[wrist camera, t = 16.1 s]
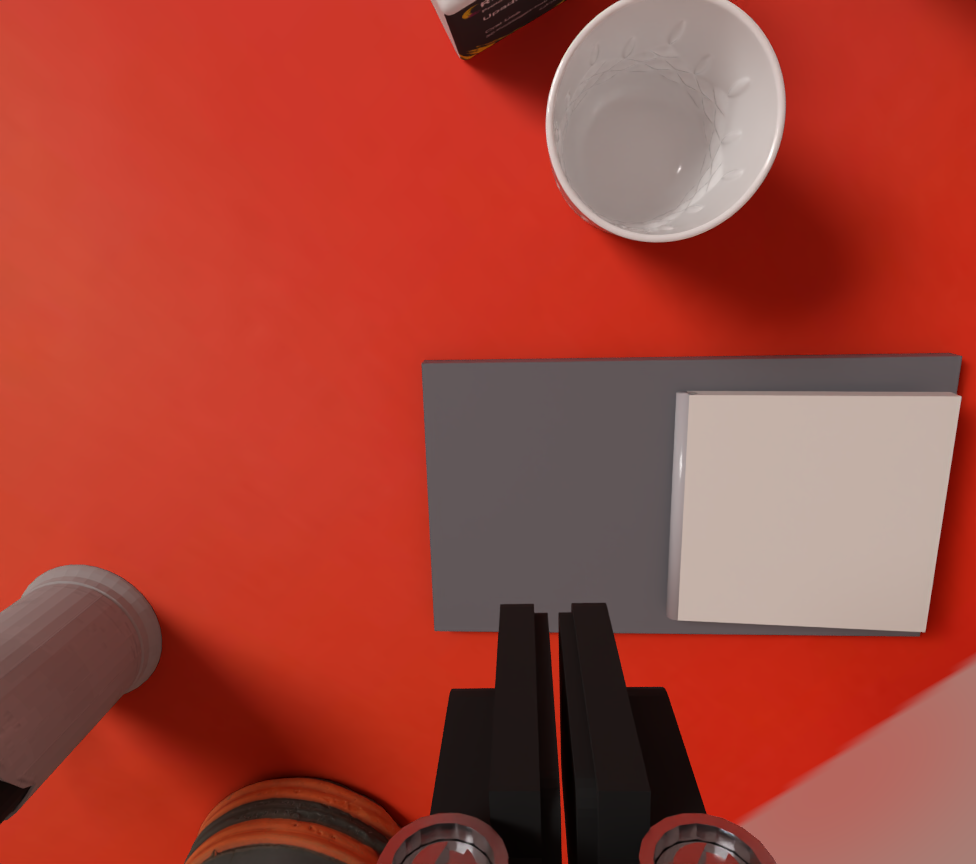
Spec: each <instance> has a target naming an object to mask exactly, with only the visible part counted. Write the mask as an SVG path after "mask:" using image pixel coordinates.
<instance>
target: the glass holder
mask: <svg viewBox="0 0 976 864" xmlns="http://www.w3.org/2000/svg"><path fill="white" fill-rule="evenodd" d="M161 651H162V635H161V629H160V625H159V622H158V620H157V617H156V615H155V613H154V611H153V609H152V607H151V605H150V604H149V603H148V601H147V600H146V599H145V598H144V596H143V595H142V594H141V593H140V592H139V591H138V590H137V589H136V588H135V587H134V586H133V585H131V584H130V583H129V582H127V581H126V580H124V579H123V578H121V577H120V576H118V575H116V574H114V573H112V572H110V571H107V570H104V569H101V568H98V567H93V566H88V565H66V566H60V567H57V568H54V569H51V570H49V571H47V572H45V573H43V574H42V575H40V576H38V577H37V578H36V579H35V580H34V581H33V582H32V583H31V584H30V585H29V586H28V587H27V589H26V590H25V592H24V593H23V595H22V597H21V599H19V600H18V601H16V602H15V603H13V604H12V605H11V606H9V607H8V608H6V609H5V610H3V611H2V612H0V824H1V823H2V822H3V821H4V820H8V819H9V818H10V817H11V816H13V815H14V814H15V813H16V812H17V811H18V810H19V809H20V808H21V807H22V806H23V804H24V803H25V802H26V801H27V800H28V799H29V798H30V797H31V796H32V795H33V793H34V792H35V791H36V790H37V789H38V788H39V787H40V786H41V785H42V784H43V782H44V781H45V780H46V779H47V778H48V777H49V776H50V775H51V774H52V773H53V771H54V770H55V769H56V768H57V767H58V766H59V765H60V764H61V763H62V762H63V760H64V759H65V758H66V757H67V756H68V755H69V754H70V753H71V752H72V751H73V749H74V748H75V747H76V746H77V745H78V744H79V743H80V742H81V741H82V740H83V738H84V737H85V736H86V735H87V734H88V733H89V732H90V731H91V730H92V729H93V727H94V726H95V725H96V724H97V723H98V722H99V721H100V720H101V719H102V717H103V716H104V715H105V714H106V713H107V712H108V711H109V710H110V709H111V708H112V706H113V705H114V704H115V703H116V702H117V701H118V700H119V699H120V698H121V697H122V695H123V694H126V693H128V692H130V691H132V690H134V689H136V688H138V687H139V686H140V685H141V684H143V683H144V682H145V681H146V680H147V679H148V678H149V677H150V676H151V674H152V673H153V672H154V670H155V668H156V666H157V664H158V662H159V659H160V655H161Z"/></svg>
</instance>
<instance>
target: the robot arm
mask: <svg viewBox="0 0 976 864" xmlns="http://www.w3.org/2000/svg"><path fill="white" fill-rule="evenodd" d="M558 626H559V677H560V729H561V769H562V786H563V799H564V812H565V826H566V839H567V853H568V864H776V862H775V860H774V859H773V857H772V856H771V855H770V853H769V852H768V851H767V849H766V848H765V847H764V846H763V844H762V843H761V842H760V841H759V840H758V839H757V838H755V837H754V836H753V835H751V834H750V833H749V832H748V831H746V830H745V829H743V828H742V827H740V826H738V825H736V824H734V823H732V822H730V821H728V820H726V819H723V818H720V817H716V816H711V815H707V814H706V811H705V808H704V805H703V801H702V798H701V795H700V792H699V789H698V786H697V783H696V780H695V777H694V774H693V771H692V768H691V765H690V762H689V758H688V755H687V752H686V749H685V746H684V743H683V740H682V737H681V734H680V731H679V728H678V725H677V722H676V718H675V715H674V712H673V709H672V706H671V703H670V700H669V697H668V694H667V692H666V690H665V688H663V687H626V684H625V680H624V676H623V672H622V667H621V663H620V659H619V655H618V650H617V646H616V642H615V638H614V633H613V629H612V625H611V621H610V617H609V612H608V608H607V604H606V603H571V612H559V613H558ZM377 864H562V852H561V806H560V783H559V766H558V752H557V738H556V724H555V709H554V695H553V681H552V666H551V652H550V638H549V623H548V613H534V604H500V617H499V633H498V649H497V666H496V682H495V688H480V689H451V691H450V695H449V701H448V707H447V713H446V719H445V726H444V732H443V738H442V744H441V750H440V756H439V762H438V769H437V775H436V781H435V787H434V793H433V799H432V806H431V812H430V816H426V817H422V818H419V819H417V820H416V821H414V822H412V823H410V824H408V825H406V826H404V827H403V828H402V829H401V830H400V831H399V832H397V833H396V834H395V835H394V836H393V837H392V838H391V839H390V840H389V842H388V843H387V845H386V846H385V848H384V850H383V851H382V853H381V855H380V857H379V859H378V862H377Z"/></svg>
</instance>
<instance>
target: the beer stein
mask: <svg viewBox="0 0 976 864" xmlns="http://www.w3.org/2000/svg"><path fill="white" fill-rule="evenodd" d="M401 829H402V827H400V825H397V823H396V822H395V821H394V820H393V819H392V817H391V816H390V815H389V814H388V813H387V812H386V811H385V810H384V808H383V807H382V806H381V805H380V804H378V803H376V802H375V801H374V800H372V799H369V798H368V797H366V796H365V795H361V794H359V793H357V792H354V791H352V790H350V789H349V788H347V787H346V786H343V785H341V784H339V783H335V782H333V781H329V780H326V779H320V778H306V777H297V778H281V779H272V780H266V781H261V782H257V783H254V784H252V785H249V786H246V787H244V788H242V789H240V790H238V791H236V792H234V793H232V794H230V795H229V796H228V797H226V798H225V799H224V800H223V801H221V802H220V803H219V804H218V805H217V806H216V807H215V808H214V809H213V810H212V811H211V812H210V813H209V815H208V816H207V818H206V819H205V820H204V822H203V823H202V825H201V828H200V830H199V833H198V836H197V838H196V840H195V842H194V844H193V846H192V848H191V851H190V853H189V854H188V856H187V858H186V861H185V863H184V864H377V862H378V859H379V857H380V855H381V853H382V851H383V850H384V848H385V846H386V845H387V843H388V842H389V840H390V839H391V838H392V837H393V836H394V835H395V834H396V833H397V832H399V831H400V830H401Z"/></svg>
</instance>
